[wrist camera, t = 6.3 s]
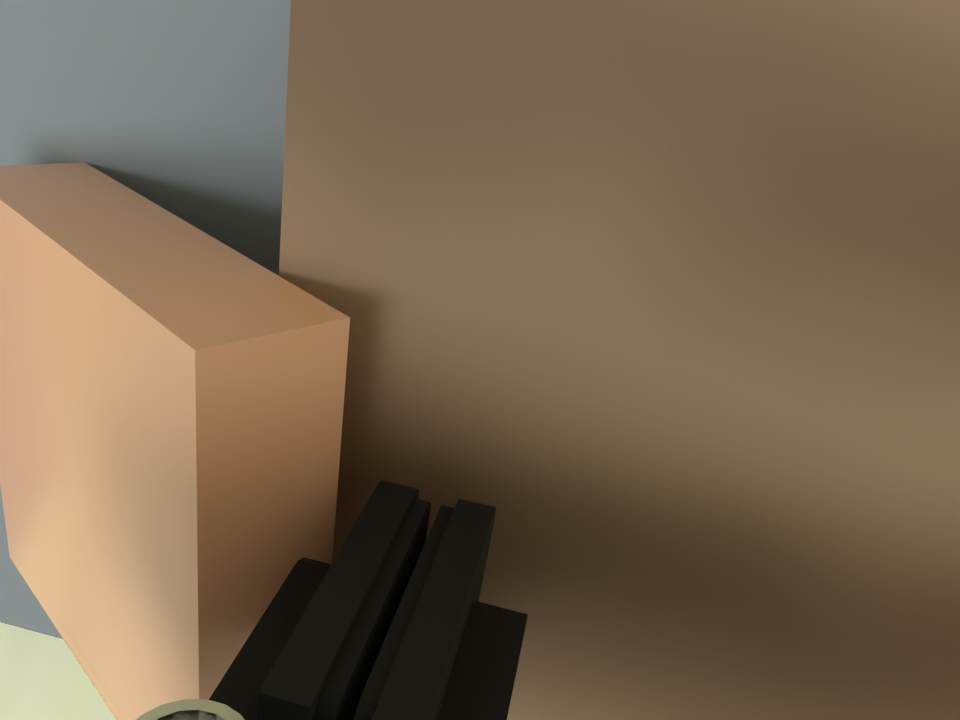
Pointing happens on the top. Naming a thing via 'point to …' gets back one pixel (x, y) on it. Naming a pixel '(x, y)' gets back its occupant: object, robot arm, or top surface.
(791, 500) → the deck
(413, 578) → the robot arm
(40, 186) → the tile
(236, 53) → the mat
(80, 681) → the top surface
